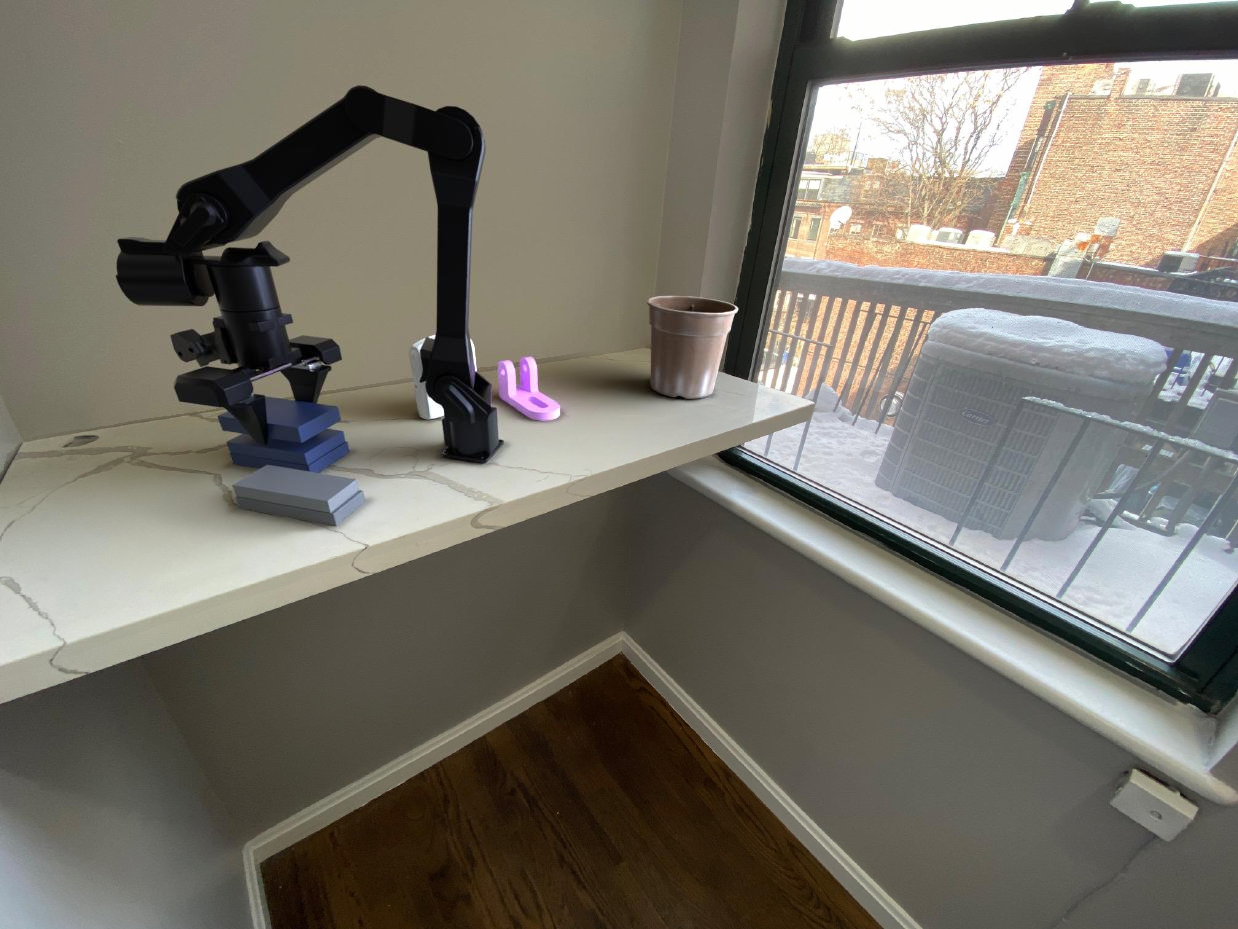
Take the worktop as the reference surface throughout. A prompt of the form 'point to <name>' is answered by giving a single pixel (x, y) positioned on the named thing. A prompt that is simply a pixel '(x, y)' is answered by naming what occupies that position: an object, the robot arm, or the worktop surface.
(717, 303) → the plant pot
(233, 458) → the navy books
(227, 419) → the navy book
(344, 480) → the grey books
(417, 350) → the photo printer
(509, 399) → the bracket
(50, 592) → the worktop surface
